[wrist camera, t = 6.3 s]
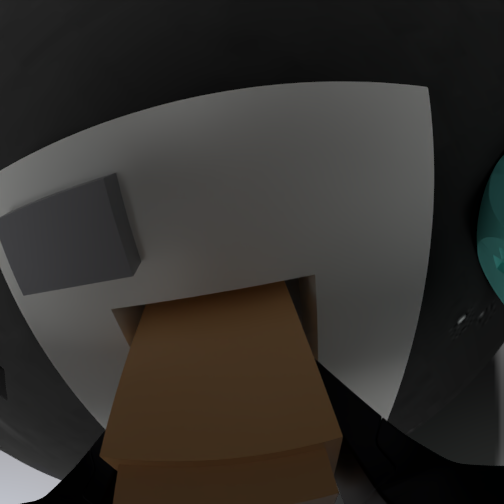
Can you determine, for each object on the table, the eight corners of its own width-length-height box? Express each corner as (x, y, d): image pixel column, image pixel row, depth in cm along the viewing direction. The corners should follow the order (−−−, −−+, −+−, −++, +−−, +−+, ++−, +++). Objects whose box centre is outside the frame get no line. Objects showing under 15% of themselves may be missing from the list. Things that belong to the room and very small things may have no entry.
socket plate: (366, 390, 15) (389, 437, 12) (147, 425, 15) (139, 475, 11) (378, 93, 9) (445, 85, 5) (22, 169, 8) (-41, 193, 5)
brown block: (292, 368, 11) (334, 522, 5) (186, 384, 11) (179, 537, 5) (281, 274, 9) (359, 482, 3) (148, 297, 9) (91, 496, 3)
